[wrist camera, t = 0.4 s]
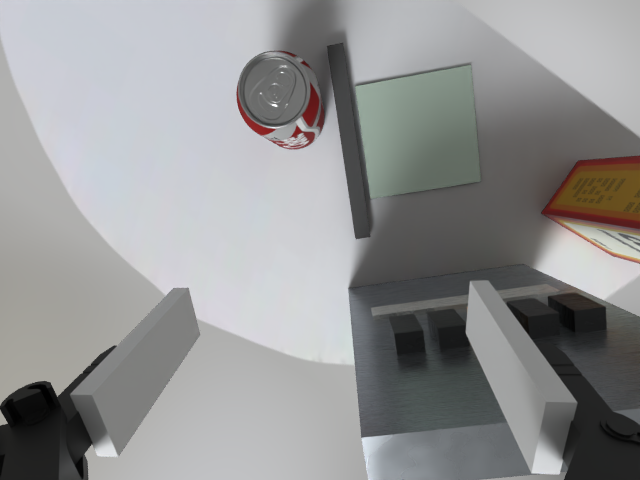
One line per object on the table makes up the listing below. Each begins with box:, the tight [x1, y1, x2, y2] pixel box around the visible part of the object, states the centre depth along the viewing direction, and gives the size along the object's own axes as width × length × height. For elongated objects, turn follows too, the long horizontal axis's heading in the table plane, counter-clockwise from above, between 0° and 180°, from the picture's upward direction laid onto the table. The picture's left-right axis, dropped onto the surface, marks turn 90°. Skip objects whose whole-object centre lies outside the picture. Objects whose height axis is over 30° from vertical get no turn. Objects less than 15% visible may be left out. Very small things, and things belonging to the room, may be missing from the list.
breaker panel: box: [348, 264, 640, 480], centre depth 28 cm, size 5×20×24 cm, turn 99°
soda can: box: [237, 51, 325, 149], centre depth 32 cm, size 7×7×12 cm
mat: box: [355, 65, 481, 199], centre depth 37 cm, size 12×12×1 cm
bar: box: [327, 43, 370, 239], centre depth 37 cm, size 20×2×2 cm, turn 9°
